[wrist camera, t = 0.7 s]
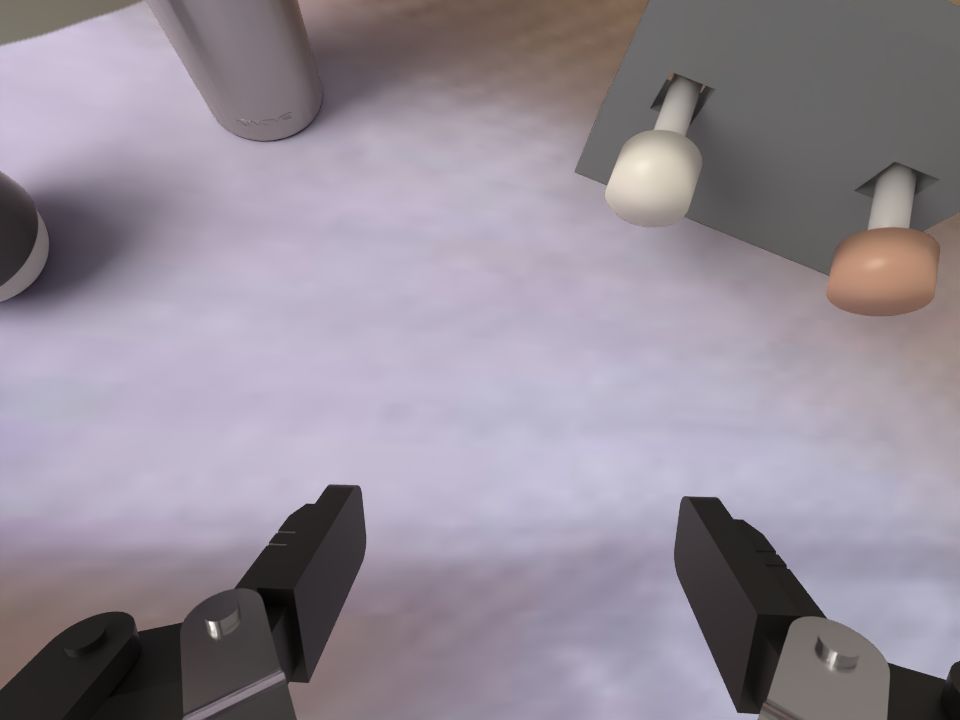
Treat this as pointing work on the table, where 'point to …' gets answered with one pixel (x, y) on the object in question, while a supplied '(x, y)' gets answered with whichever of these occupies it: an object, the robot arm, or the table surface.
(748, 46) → the knob mount
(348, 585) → the robot arm
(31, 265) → the dark grey tapered speaker
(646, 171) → the cream knob
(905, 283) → the terracotta knob
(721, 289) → the table surface
